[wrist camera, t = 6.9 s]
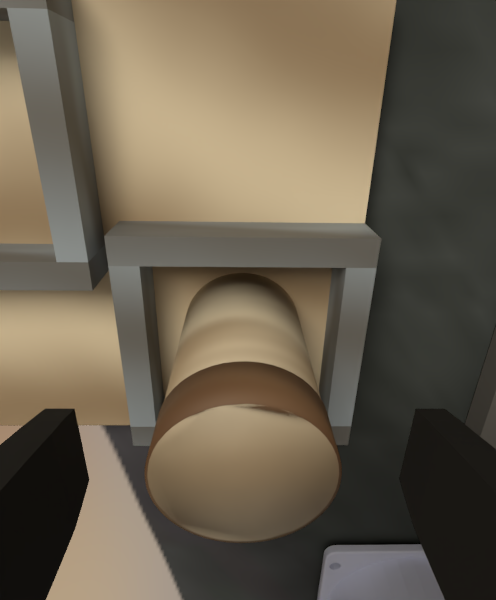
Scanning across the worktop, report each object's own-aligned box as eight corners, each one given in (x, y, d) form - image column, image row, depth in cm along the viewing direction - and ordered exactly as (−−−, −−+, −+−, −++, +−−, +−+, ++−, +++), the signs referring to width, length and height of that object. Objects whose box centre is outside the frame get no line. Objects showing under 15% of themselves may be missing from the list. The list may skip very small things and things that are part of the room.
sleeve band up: (293, 374, 14) (327, 544, 9) (184, 370, 14) (149, 540, 8) (306, 273, 12) (356, 405, 7) (183, 268, 12) (138, 398, 7)
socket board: (330, 406, 16) (346, 456, 14) (-63, 406, 16) (-114, 458, 13) (384, -2, 10) (425, -32, 8) (-229, -17, 10) (-367, -52, 8)
